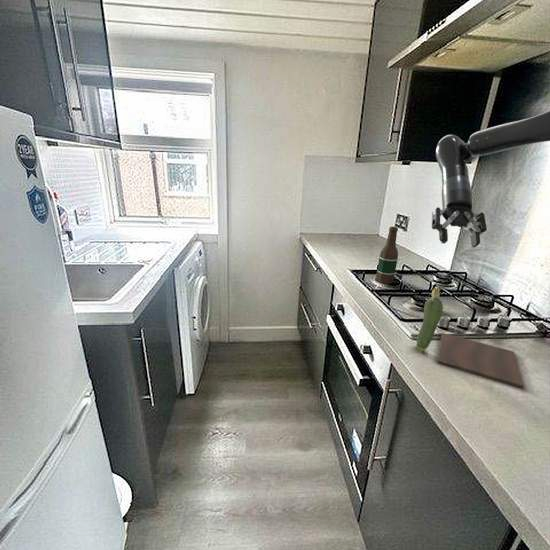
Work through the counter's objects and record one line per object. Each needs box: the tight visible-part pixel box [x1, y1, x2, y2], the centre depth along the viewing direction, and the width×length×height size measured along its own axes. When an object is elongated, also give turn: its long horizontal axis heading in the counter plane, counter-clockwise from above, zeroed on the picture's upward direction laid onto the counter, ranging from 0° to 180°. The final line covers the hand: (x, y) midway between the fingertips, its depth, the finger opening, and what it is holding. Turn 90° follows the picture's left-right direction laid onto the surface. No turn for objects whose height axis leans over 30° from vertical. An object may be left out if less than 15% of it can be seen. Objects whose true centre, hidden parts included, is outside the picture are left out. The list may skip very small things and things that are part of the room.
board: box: [437, 332, 524, 389], centre depth 82 cm, size 18×16×1 cm
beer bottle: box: [375, 226, 399, 285], centre depth 128 cm, size 8×8×24 cm
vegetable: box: [415, 285, 444, 352], centre depth 81 cm, size 4×4×20 cm
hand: (460, 244), depth 85 cm, fingers open, 8 cm apart
